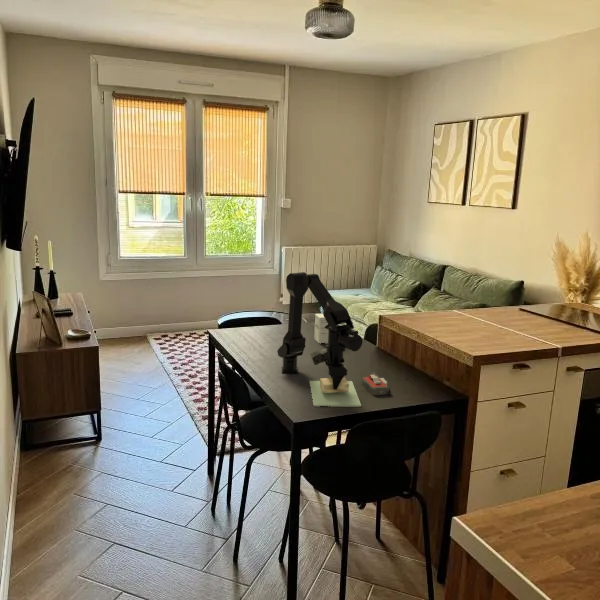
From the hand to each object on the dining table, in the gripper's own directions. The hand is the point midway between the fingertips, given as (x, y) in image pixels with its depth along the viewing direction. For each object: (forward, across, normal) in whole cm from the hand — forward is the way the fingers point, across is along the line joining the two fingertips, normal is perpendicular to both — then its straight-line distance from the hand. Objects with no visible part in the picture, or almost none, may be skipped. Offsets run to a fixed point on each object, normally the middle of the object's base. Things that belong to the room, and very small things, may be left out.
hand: (334, 385), depth 189 cm
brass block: (+1, 0, 0) cm, 1 cm away
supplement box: (+3, -63, +2) cm, 63 cm away
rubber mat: (+3, 0, 0) cm, 3 cm away
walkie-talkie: (+4, -8, +16) cm, 18 cm away
